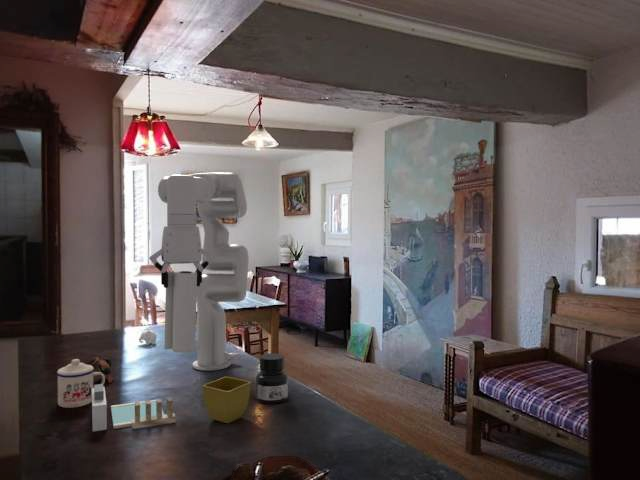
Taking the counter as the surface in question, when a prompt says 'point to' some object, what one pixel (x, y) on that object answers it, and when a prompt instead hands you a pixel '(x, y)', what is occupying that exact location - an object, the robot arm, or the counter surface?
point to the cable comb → (153, 420)
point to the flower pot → (226, 398)
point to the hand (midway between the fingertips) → (181, 286)
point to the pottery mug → (102, 367)
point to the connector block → (99, 408)
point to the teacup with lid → (76, 384)
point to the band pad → (129, 413)
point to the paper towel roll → (181, 311)
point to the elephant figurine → (148, 336)
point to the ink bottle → (271, 379)
